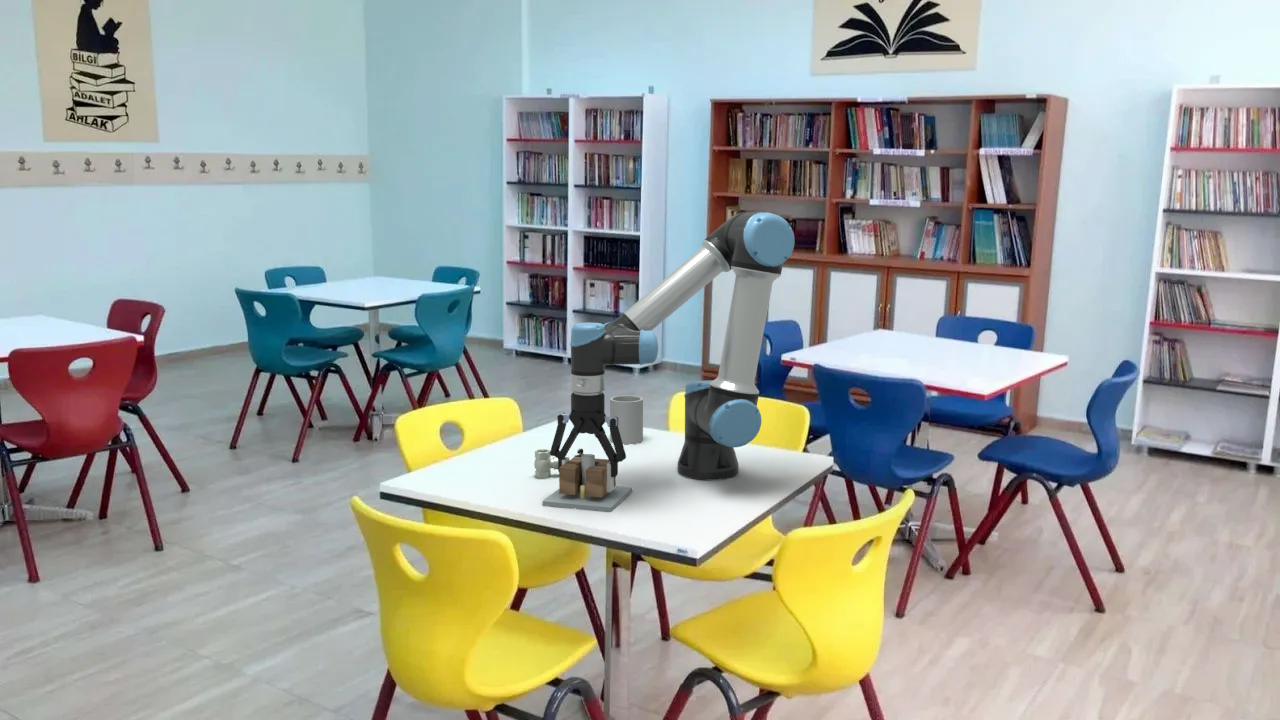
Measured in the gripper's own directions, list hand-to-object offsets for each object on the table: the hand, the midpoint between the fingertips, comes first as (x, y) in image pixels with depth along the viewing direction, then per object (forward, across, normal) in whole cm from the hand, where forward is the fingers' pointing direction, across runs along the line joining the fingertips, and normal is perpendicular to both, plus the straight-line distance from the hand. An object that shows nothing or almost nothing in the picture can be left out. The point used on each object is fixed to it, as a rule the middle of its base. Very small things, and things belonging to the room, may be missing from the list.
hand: (587, 488), depth 234 cm
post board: (+2, 0, 0) cm, 2 cm away
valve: (+3, -13, +16) cm, 21 cm away
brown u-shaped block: (0, 0, 0) cm, 0 cm away
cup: (+2, -8, +55) cm, 55 cm away
